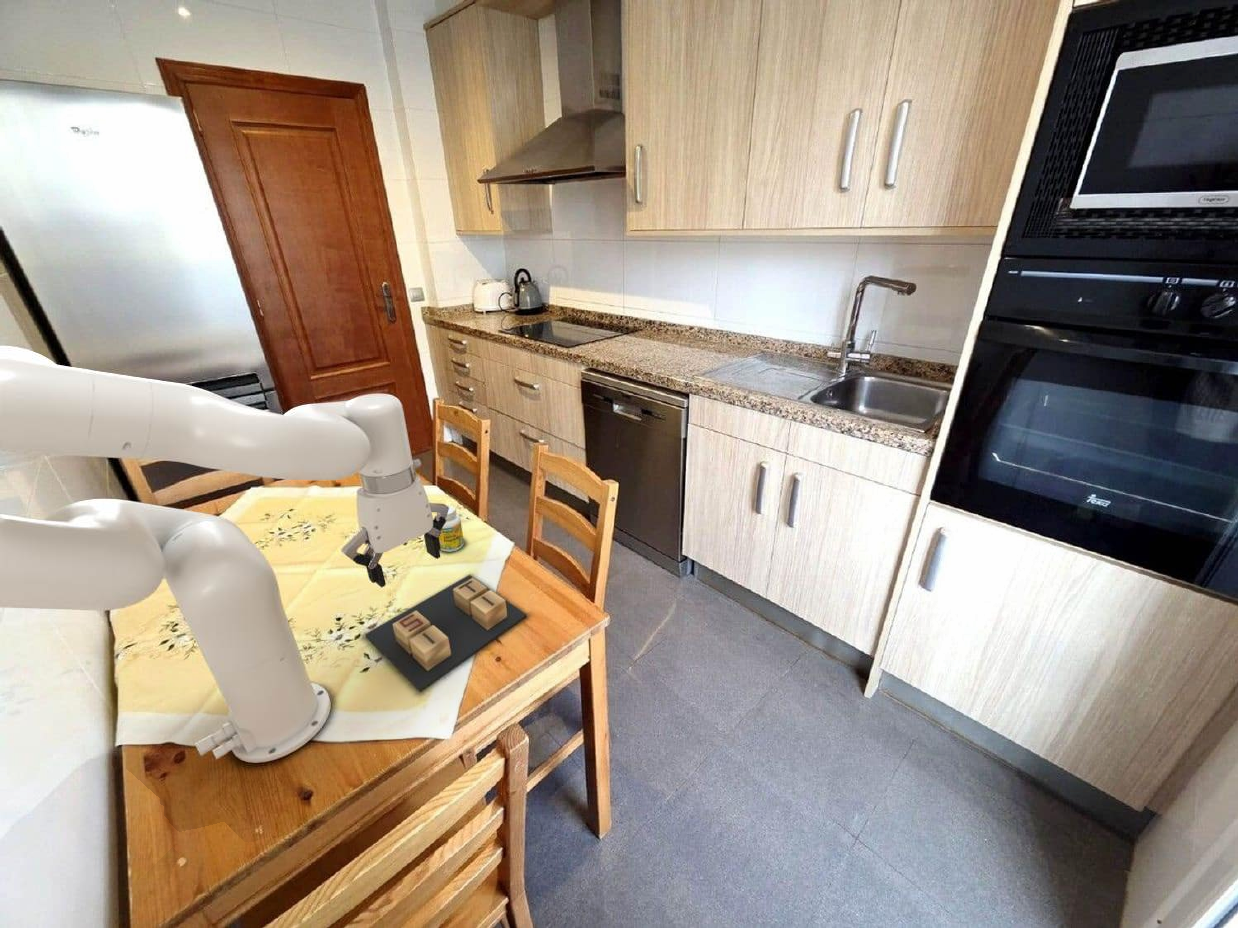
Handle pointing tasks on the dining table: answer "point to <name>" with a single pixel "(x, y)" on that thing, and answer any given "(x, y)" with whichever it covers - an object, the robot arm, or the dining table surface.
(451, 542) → the supplement bottle
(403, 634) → the tile
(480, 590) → the tile
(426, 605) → the word mat
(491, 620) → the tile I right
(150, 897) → the dining table surface
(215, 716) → the dining table surface
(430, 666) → the tile
